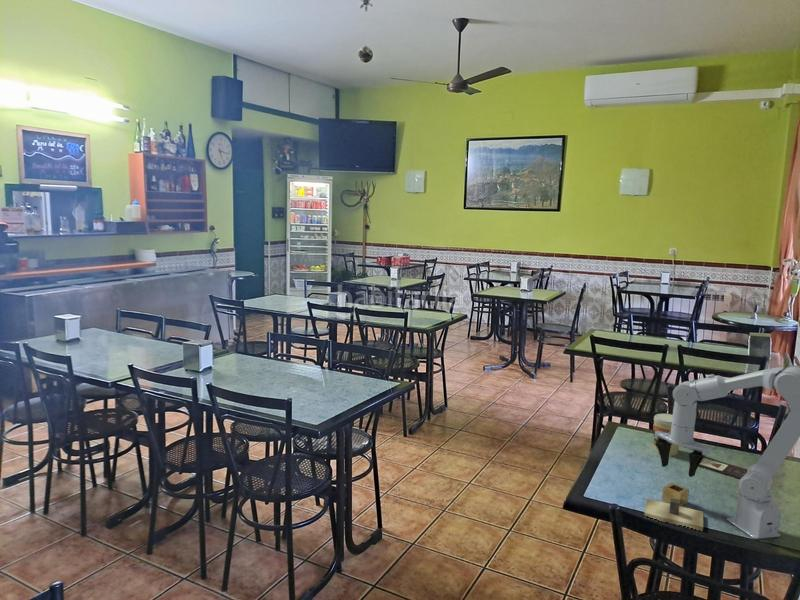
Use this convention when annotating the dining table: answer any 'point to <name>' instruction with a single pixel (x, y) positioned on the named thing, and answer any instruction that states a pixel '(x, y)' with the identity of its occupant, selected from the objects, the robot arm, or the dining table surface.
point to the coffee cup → (664, 430)
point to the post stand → (674, 514)
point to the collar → (675, 493)
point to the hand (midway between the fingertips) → (678, 470)
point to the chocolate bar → (722, 468)
